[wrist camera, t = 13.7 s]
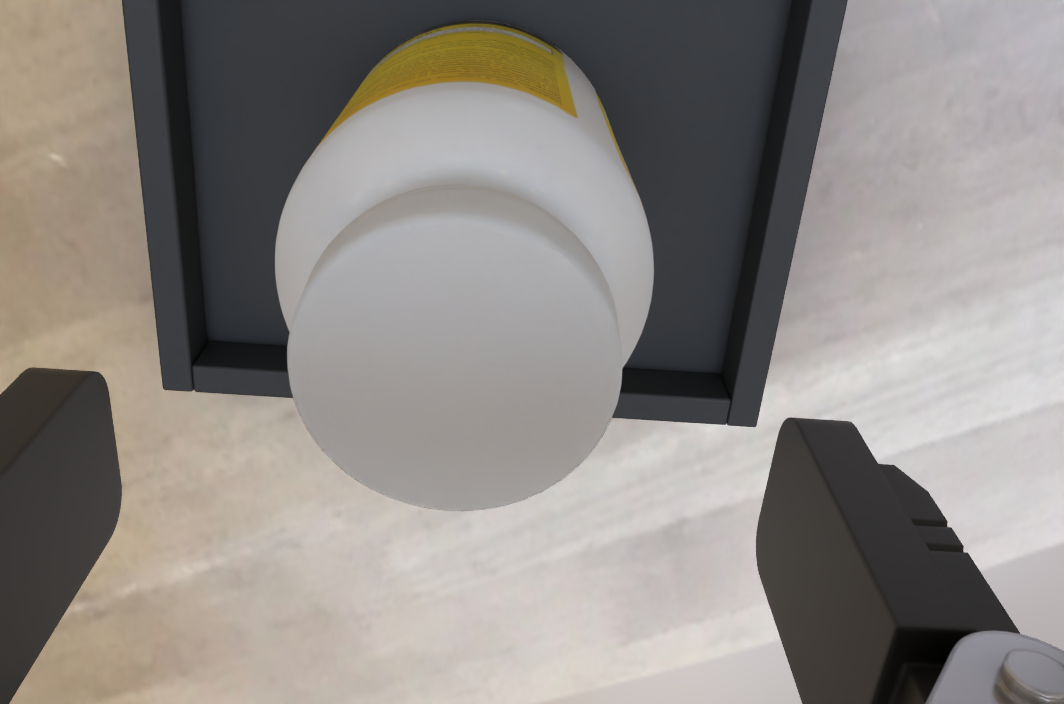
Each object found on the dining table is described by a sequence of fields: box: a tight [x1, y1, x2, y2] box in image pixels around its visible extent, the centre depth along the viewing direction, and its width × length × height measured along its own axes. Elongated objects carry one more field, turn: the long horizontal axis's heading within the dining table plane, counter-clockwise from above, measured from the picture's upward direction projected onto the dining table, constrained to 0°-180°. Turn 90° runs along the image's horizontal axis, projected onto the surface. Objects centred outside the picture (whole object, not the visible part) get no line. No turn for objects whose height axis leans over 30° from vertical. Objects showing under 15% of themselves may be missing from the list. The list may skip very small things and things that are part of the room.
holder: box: [122, 0, 848, 427], centre depth 23 cm, size 16×13×2 cm
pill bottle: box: [275, 20, 654, 511], centre depth 18 cm, size 6×6×12 cm
